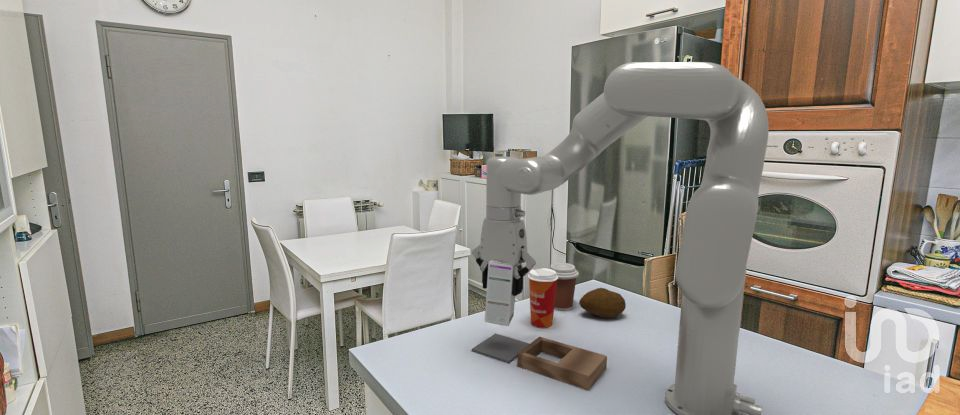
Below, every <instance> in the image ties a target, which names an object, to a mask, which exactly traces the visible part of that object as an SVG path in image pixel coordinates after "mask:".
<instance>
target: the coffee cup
mask: <svg viewBox="0 0 960 415" xmlns="http://www.w3.org/2000/svg"><path fill="white" fill-rule="evenodd" d="M548 269H551V270H554V271H556V273H557V276H558V279H557V282H556V293H555V304H554V311H555V310H556V311H562V312H563V311H564V312H565V311H566V312H567V311H570V310H573V307H574V298H575V290H576V281H577V278H578V277H579V276H580V274H579V271H578V270H577V269H576V266H575V265H574V264H572V263H568V262H553V263H552V264H550V266H549V268H548Z"/></svg>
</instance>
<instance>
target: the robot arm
mask: <svg viewBox="0 0 960 415" xmlns="http://www.w3.org/2000/svg"><path fill="white" fill-rule="evenodd" d="M648 117H656V118H671V119H672V118H673V119H674V118H675V119H676V118H677V119H688V120H689V119H691V120H701V121H705V122H707V123H708V126H709V130H710V135H709V143H708V146H707V151H706V159H705V164H704V170H703V175H702V179H701V182H700V186H699V187H698V188H697V189H696V190H695V191H694V192H693V193H692V195H691V197H690V199H689V201H688V205H687V207H686V208H687V209H686V211H685V217H684V222H683V228H682V232H681V233H682V234H681V239H680V243H679V250H678V256H677V262H676V268H675V280H676V284H677V288H678V290H679V291H680V292H681V303H680V304H681V305H680V315H679V316H680V317H679V324H678V338H677V339H678V340H677V348H676V349H677V351H676V352H677V353H676V365H675V378H674V383H673V384H671V385H668V387H667V388H666V389H665V392H664V401H665V403H666V405H667V406H668V407H669V408H670V410H672V412H674V413H675V414H677V415H742V413H743V414H747V415H762V408H763V407H762V406H761V405H758V404H756V403H755V402H756V401H755V400H756V399H755V398H752V397H748V396H744V395H742V394H741V393H738V392H737V390H738V385H737V384H735V374H736V367H737V366H736V365H737V354H738V345H739V335H740V330H741V328H740V327H741V321H742V320H741V319H742V317H741V316H742V312H743V311H742V309H743V299H744V293H745V292H744V291H745V284H746V276H747V264H748V258H749V255H750V251H751V244H752V240H753V235H754V232H755V226H756V221H757V217H758V212H759V193H760V187H761V180H762V175H763V172H764V171H763V170H764V165H765V164H764V163H765V159H766V152H767V148H768V140H769V131H770V130H769V128H770V127H769V123H770V122H769V118H768V113H767V110H766V106H765V104H764V102H763V100H762V99H761V97H760V95H759V93H757V92H756V90H755V89H753V87H751V86H750V85H749V84H747V83H746V82H745V81H744V80H742V79H740V78H739V77H737V76H736V75H734V74H733V73H732V72H731V71H730V70H729V69H728V68H726V67H725V66H724V65H721V64H718V63H714V62H710V61H709V62H708V61H682V62H679V61H676V62H675V61H673V62H672V61H671V62H670V61H668V62H667V61H666V62H665V61H663V62H661V61H660V62H656V61H655V62H653V61H652V62H651V61H650V62H649V61H648V62H647V61H634V62H633V61H632V62H627V63H623V64H621V65H619V66H618V67H616V68H615V69H614V70H612V71H611V72H610V74H609V75H608V77H607V78H606V80H605V83H604V86H603V92H602V93H601V94H600V95H598V96H597V97H596V98H595V99H594V100H592V101H591V102H590V103H589V104H587V106H585V107H584V108H583V109H582V110H580V111H579V112H578V113H577V114H576V115H575V116H574V118H573V121H572V126H571V130H570V132H569V134H568V135H567V136H566V137H565V138H564V139H563V140H562V141H561V142H560V143H558V145H557V146H555V147H554V148H552V149H551V150H550V151H548V153H547V154H545V155H542V156H534V157H527V158H526V157H525V158H520V159H519V158H518V157H514V156H494V157H493V156H492V157H490V158H488V160H487V161H486V183H485V184H486V190H485V191H486V192H485V193H486V194H485V196H486V201H485V203H486V204H485V206H486V207H485V208H486V209H485V211H486V212H485V216H486V217H484V218H483V222H482V226H481V232H480V233H481V234H480V243H479V245H478V246H476V247H475V248H474V249H473V250H471V255H472V256H473V258H474V259H475V262H476V264H477V265H478V266H479V270H480V271H481V283H482V288H483V289H484V290H487V278H488V263H489V261H491V260H496V261H501V262H504V263H508V264H510V265H511V266H513V267H514V270H513V273H514V276H515V278H513V282H512V295H513V296H515V297H516V296H518V295H520V294H521V293H523V289H524V277H525V276H526V275H527V274H529V273H530V271H531V270H532V269H533V268H534V266H536V265H537V261H536V260H535V259H534V258H533V257H532V255H530V253H529V252H528V238H527V229H526V225H525V221H524V219H522V218H523V217H525V216H526V210H523V209H522V205H521V203H522V202H521V201H522V196H521V195H522V194H523V195H527V196H528V195H530V196H533V195H537V194H542V193H544V192H548V191H552V190H555V189H557V188H559V187H560V186H562V185H563V184H565V183H566V182H568V181H569V180H570V179H571V178H573V177H574V176H575V175H577V174H578V173H579V172H580V171H582V170H583V169H584V168H585V167H587V166H588V165H589V164H590V163H591V162H592V161H594V160H595V159H596V158H597V157H598V156H599V155H601V153H602V152H603V151H604V150H605V149H607V148H608V147H609V146H610V145H612V144H613V143H614V142H617V140H618V139H620V138H621V137H623V135H625V134H626V133H628V132H629V131H630V130H632V129H633V128H634V127H636V126H637V125H638V124H639V123H641V122H643V121H644V120H646V118H648ZM524 263H525V266H523V264H524Z"/></svg>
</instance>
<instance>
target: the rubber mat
mask: <svg viewBox="0 0 960 415" xmlns="http://www.w3.org/2000/svg"><path fill="white" fill-rule="evenodd" d="M530 343H531V342H530ZM530 343H529V342H526V341H522V340H519V339H516V338H514V337H513V338H512V337H510V336H505V335H502V334H498V333H496V332H495V333H493V334H492V335H491V336H489V337H488V338H486V339H485V340H483V341H481V342H480V343H478V344H476V345H475V346H474V347H472V348H471V352H473V353H476V354H477V355H478V354H479V355H481V356H485V357H488V358H491V359H493V360H497V361H499V362H503V363H506V364H511V363H512V362H513V361H515V360H517V353H518V352H520V351H521V350H522V349H524V348H525V347H526V346H528V345H529V344H530ZM514 359H515V360H514Z"/></svg>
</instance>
